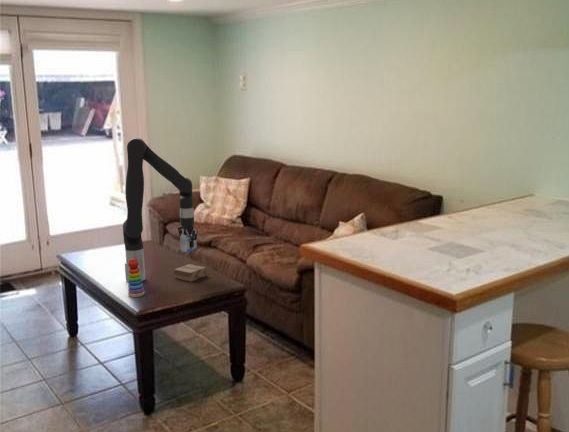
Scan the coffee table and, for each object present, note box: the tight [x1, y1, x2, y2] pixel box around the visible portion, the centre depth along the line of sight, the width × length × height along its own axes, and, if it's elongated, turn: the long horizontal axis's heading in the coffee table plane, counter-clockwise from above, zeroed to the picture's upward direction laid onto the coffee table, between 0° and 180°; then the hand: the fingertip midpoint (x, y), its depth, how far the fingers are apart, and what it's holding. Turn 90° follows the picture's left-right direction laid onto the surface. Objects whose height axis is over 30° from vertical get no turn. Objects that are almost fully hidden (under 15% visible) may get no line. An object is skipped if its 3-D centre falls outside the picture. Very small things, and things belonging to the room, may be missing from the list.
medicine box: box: [179, 234, 198, 253], centre depth 323 cm, size 8×4×9 cm, turn 144°
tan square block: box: [173, 263, 207, 283], centre depth 325 cm, size 12×12×5 cm
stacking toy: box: [127, 258, 145, 298], centre depth 296 cm, size 8×8×19 cm
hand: (188, 246), depth 323 cm, fingers closed on medicine box, 4 cm apart
